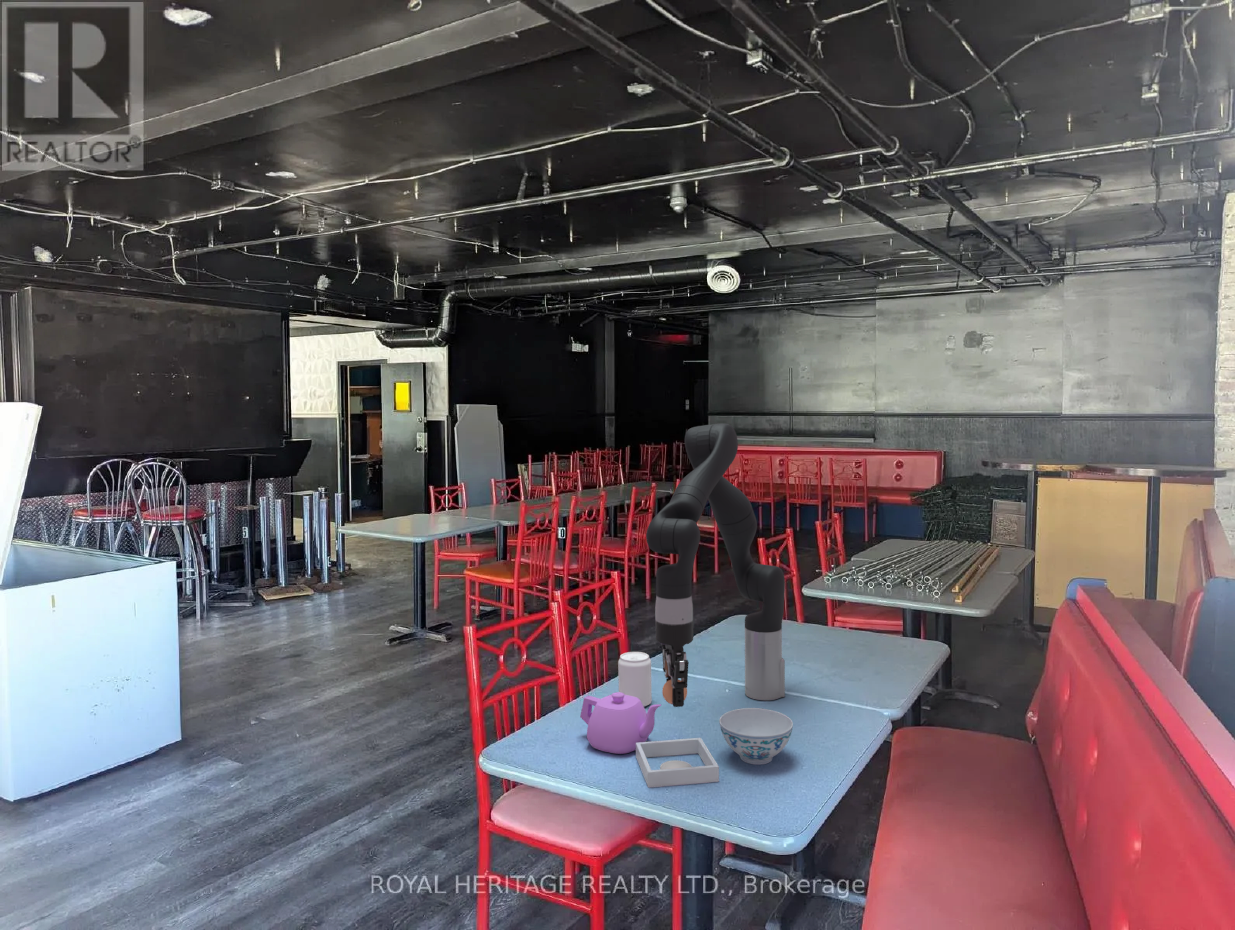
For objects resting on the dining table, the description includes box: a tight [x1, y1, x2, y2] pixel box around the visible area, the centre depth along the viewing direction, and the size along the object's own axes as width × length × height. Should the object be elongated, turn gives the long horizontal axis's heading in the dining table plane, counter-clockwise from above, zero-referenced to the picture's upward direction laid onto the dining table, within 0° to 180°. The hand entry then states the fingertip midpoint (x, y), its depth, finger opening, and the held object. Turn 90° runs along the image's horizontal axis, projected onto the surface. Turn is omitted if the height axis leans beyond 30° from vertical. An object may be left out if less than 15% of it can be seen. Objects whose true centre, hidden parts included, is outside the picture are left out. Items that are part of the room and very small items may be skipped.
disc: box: [659, 759, 693, 770], centre depth 161 cm, size 6×6×1 cm
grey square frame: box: [635, 737, 720, 788], centre depth 161 cm, size 14×14×3 cm
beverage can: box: [617, 651, 652, 708], centre depth 197 cm, size 8×8×12 cm
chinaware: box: [718, 707, 794, 765], centre depth 165 cm, size 15×15×8 cm
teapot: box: [580, 691, 662, 755], centre depth 173 cm, size 13×20×11 cm
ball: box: [661, 679, 688, 705], centre depth 160 cm, size 5×5×5 cm
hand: (675, 700), depth 160 cm, fingers closed on ball, 5 cm apart
